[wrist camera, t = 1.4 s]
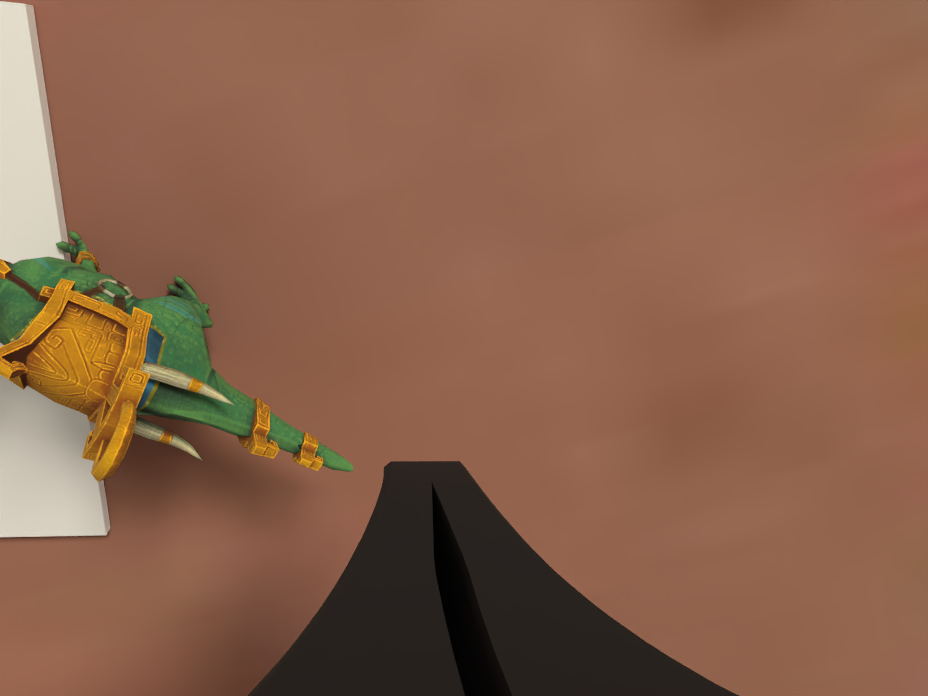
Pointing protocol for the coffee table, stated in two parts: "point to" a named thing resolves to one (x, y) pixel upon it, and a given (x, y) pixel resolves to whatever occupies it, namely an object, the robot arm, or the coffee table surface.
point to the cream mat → (3, 403)
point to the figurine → (128, 361)
